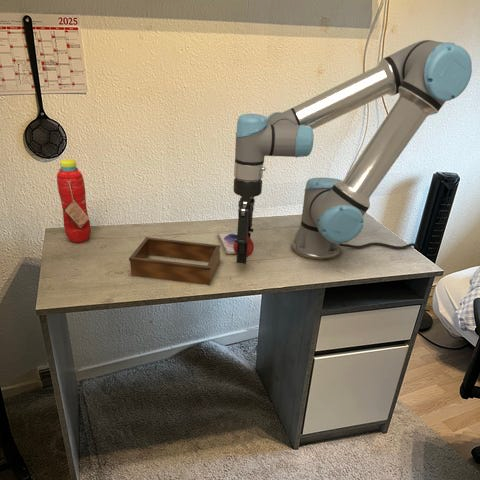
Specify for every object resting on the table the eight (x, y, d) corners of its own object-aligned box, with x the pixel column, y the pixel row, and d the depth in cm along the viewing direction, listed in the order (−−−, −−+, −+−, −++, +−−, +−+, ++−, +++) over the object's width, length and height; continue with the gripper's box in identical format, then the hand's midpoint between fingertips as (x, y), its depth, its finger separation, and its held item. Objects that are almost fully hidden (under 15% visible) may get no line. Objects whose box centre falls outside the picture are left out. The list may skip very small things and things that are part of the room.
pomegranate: (254, 255, 139) (256, 230, 134) (250, 264, 134) (252, 238, 129) (235, 253, 139) (236, 227, 135) (230, 261, 135) (232, 235, 130)
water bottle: (92, 248, 146) (81, 167, 132) (65, 250, 144) (51, 167, 130) (92, 233, 156) (82, 155, 142) (67, 234, 154) (54, 156, 140)
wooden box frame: (220, 261, 143) (220, 245, 140) (210, 285, 131) (210, 267, 127) (147, 253, 145) (145, 236, 142) (130, 275, 133) (128, 258, 130)
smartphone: (237, 232, 160) (248, 251, 148) (237, 234, 160) (248, 253, 148) (217, 233, 158) (226, 252, 146) (217, 235, 159) (226, 254, 147)
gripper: (258, 191, 116) (251, 274, 128) (266, 169, 131) (259, 246, 144) (227, 187, 116) (224, 271, 129) (239, 167, 132) (235, 243, 145)
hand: (243, 257), depth 136 cm, fingers closed on pomegranate, 6 cm apart
